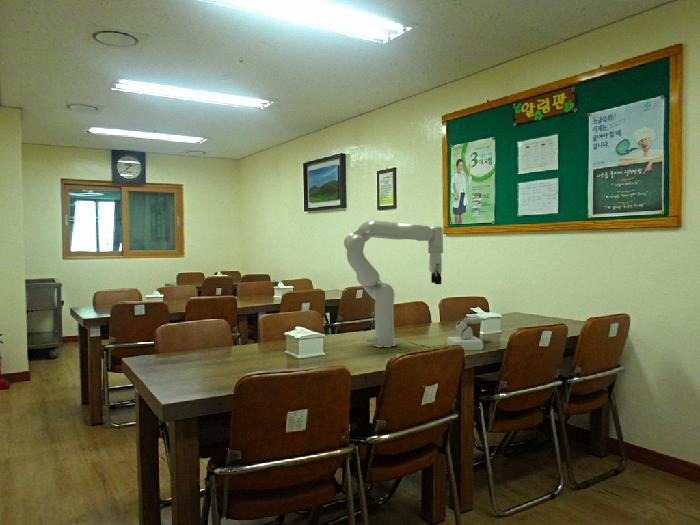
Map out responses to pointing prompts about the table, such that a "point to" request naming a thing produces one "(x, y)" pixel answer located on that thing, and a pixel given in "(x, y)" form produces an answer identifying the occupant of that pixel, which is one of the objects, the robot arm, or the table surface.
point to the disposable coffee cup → (474, 325)
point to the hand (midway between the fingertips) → (436, 283)
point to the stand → (466, 342)
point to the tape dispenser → (464, 330)
